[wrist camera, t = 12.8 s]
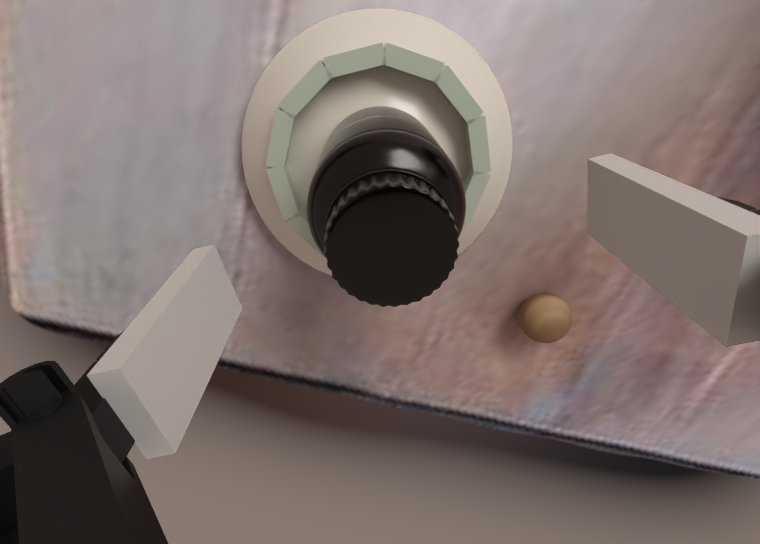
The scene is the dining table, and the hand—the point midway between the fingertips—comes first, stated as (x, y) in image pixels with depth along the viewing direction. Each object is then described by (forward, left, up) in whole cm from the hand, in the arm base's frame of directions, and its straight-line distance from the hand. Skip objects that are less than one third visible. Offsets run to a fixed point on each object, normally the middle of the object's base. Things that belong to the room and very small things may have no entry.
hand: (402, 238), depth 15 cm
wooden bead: (+13, +9, -13) cm, 20 cm away
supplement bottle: (0, 0, -12) cm, 12 cm away
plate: (0, 0, -13) cm, 13 cm away
